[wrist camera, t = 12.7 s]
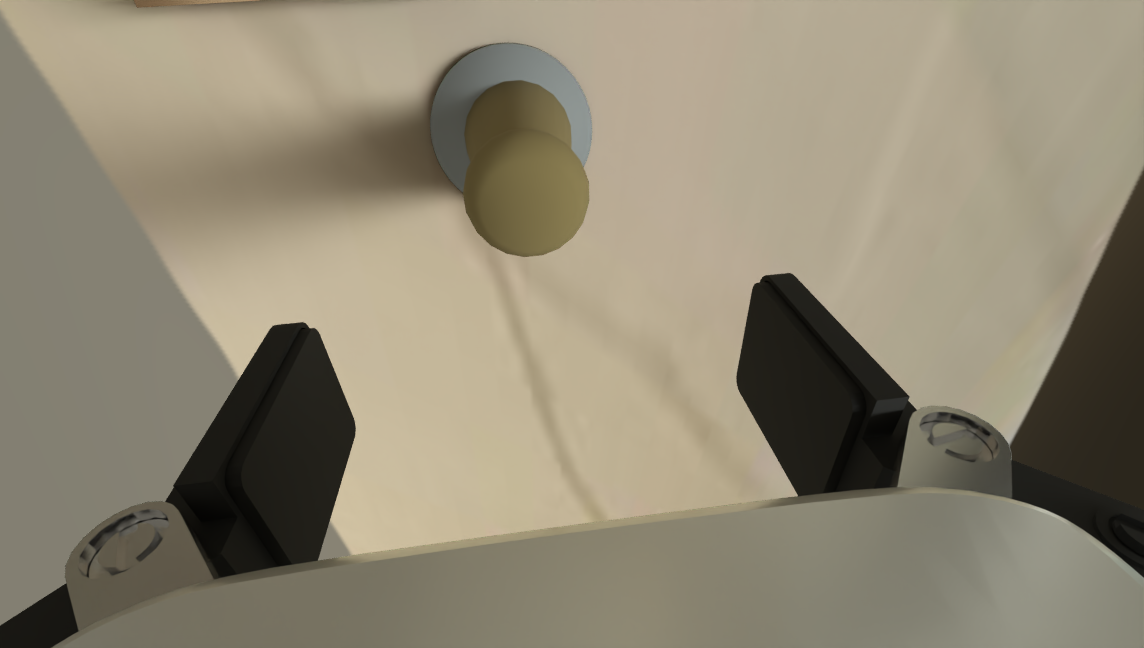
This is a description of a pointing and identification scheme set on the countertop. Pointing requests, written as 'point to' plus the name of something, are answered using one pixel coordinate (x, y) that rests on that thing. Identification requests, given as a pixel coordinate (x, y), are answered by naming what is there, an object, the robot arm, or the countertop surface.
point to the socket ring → (179, 2)
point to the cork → (523, 170)
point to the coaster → (489, 71)
